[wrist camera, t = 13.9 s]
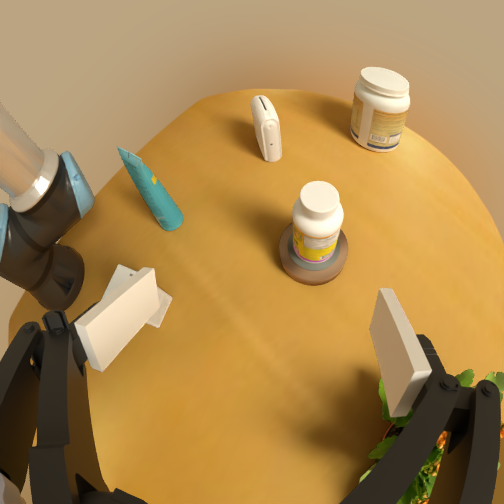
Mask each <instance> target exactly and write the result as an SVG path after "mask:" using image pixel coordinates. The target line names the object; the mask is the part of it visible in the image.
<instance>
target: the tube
mask: <svg viewBox="0 0 504 504" xmlns="http://www.w3.org/2000/svg"><path fill="white" fill-rule="evenodd" d="M117 148H118V151H119V154H120V156H121V158H122V160H123V162H124V165H125V167H126V169H127V170H128V172H129V174H130V176H131V178H132V180H133V182H134V183H135V185H136V187H137V189H138V190H139V192H140V194H141V195H142V197H143V199H144V200H145V202H146V204H147V205H148V207H149V208H150V210H151V212H152V213H153V215H154V216H155V218H156V219H157V221H158V222H159V224H160V225H161V227H162V228H163V229H164V230H166V231H173V230H175V229H177V228H178V227H179V226H180V225H181V224H182V222H183V214H182V212H181V211H180V210H179V208H178V207H177V205H176V204H175V202H174V201H173V199H172V198H171V197H170V195H169V194H168V192H167V191H166V190H165V188H164V187H163V186H162V184H161V183H160V182H159V180H158V179H157V178H156V176H155V175H154V174H153V173H152V172H151V170H150V169H149V168H148V167H147V166H146V165H145V164H144V163H142V162H141V158H139V157H138V156H136V155H134V154H132V153H130V152H128V151H126V150H124V149H122V148H119V147H117Z"/></svg>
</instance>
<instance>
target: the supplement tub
mask: <svg viewBox="0 0 504 504" xmlns="http://www.w3.org/2000/svg"><path fill="white" fill-rule="evenodd" d="M359 79H360V80H359V81H358V82H357V83H356V85H355V91H354V100H353V109H352V118H351V126H350V130H351V134H352V136H353V138H354V139H355V141H356V142H357V143H359V144H360V145H361V146H363V147H365V148H367V149H369V150H372V151H375V152H389V151H392V150H394V149H395V148H396V147H397V146H398V144H399V142H400V138H401V134H402V131H403V128H404V124H405V120H406V117H407V112H408V109H409V106H410V97H409V95H408V93H409V83H408V81H407V80H406V79H405V78H404V77H402V76H401V75H399V74H398V73H396V72H393V71H391V70H388V69H384V68H379V67H367V68H364V69H362V70H361V75H360V78H359Z"/></svg>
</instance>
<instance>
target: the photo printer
mask: <svg viewBox="0 0 504 504" xmlns="http://www.w3.org/2000/svg"><path fill="white" fill-rule="evenodd" d="M251 110H252V115H253V121H254V126H255V132H256V138H257V141H258V144H259V147H260V150H261V152H262V155H263V157H264V159H265V161H268V162H275V161H278V160H279V159H280V158H281V157H282V150H281V137H280V126H279V119H278V116H277V113H276V111H275V109H274V107H273V105H272V103H271V102H270V100H269V99H268V98H267V97H265V96H263V95H259V96H254V97H253V99H252V100H251Z"/></svg>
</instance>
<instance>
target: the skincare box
mask: <svg viewBox="0 0 504 504" xmlns="http://www.w3.org/2000/svg"><path fill="white" fill-rule="evenodd" d="M135 273H137V271H135V270H132V269H130V268H128V267H125V266H123V265H121V264H118V266H117V268H116V270H115V272H114V274H113V276H112V278H111V280H110V282H109V284H108V287H107V289H106V291H105V293H104V295H103V297H102V299H104V298H105V297H106V296H107V295H109V294H110V293H111V292H112V291H114V290H115V289H116V288H117V287H119V286H120V285H121V284H123V283H124V282H125V281H126V280H128V279H129V278H130V277H132V276H133V275H134V274H135ZM157 292H158V298H159V304H160V308H159V309H158V310H157V311H156V312H155V313H154V314H153V315H152V316H151V318H150V319H149V320H148V321H147V322H146V323H147V324H149V325H152V326H154V327H156V328H159V327H160V325H161V323H162V320H163V318H164V316H165V314H166V312H167V309H168V307H169V305H170V303H171V301H172V299H173V298H172V297H171V296H170V295H168V294H167V293H166V292H164V291H163V290H162V289H160V288H159V287H158V286H157Z"/></svg>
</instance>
